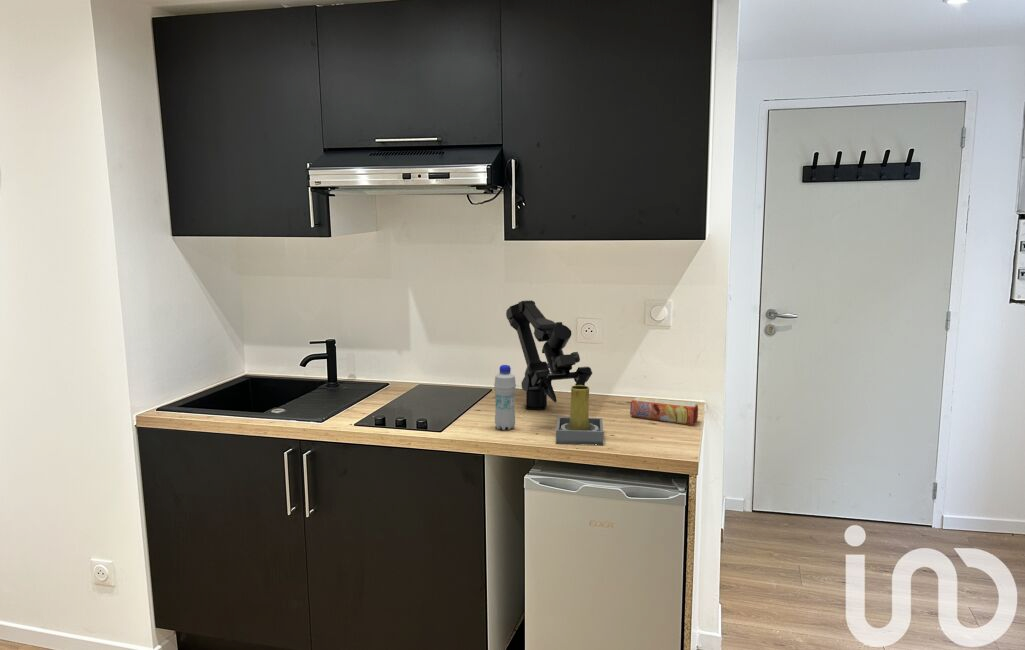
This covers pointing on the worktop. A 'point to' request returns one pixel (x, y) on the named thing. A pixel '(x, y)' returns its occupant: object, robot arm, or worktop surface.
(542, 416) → the worktop surface
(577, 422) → the vase
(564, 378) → the robot arm
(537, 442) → the worktop surface
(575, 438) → the tray
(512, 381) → the bottle
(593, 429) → the collar
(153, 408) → the worktop surface
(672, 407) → the snack package
